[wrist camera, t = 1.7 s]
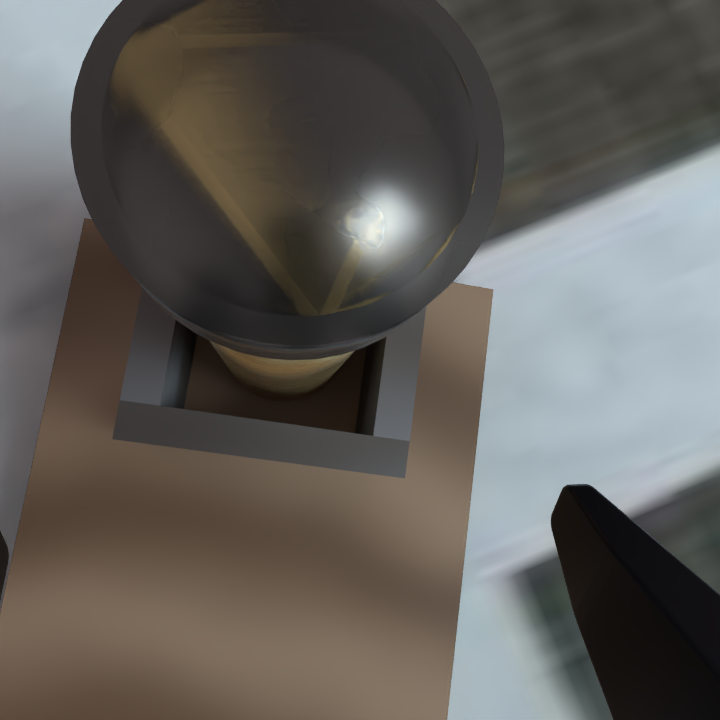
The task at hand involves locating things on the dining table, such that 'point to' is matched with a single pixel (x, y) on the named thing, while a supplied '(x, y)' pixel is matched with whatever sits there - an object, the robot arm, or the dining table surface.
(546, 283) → the dining table surface
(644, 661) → the robot arm
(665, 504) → the dining table surface
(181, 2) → the brass peg
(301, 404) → the board with square socket
